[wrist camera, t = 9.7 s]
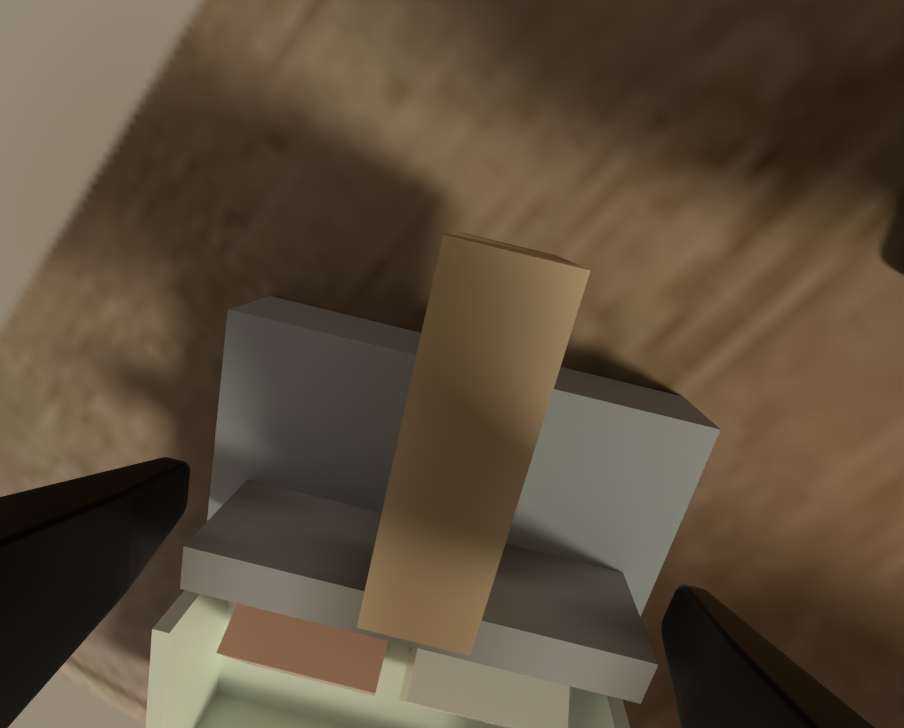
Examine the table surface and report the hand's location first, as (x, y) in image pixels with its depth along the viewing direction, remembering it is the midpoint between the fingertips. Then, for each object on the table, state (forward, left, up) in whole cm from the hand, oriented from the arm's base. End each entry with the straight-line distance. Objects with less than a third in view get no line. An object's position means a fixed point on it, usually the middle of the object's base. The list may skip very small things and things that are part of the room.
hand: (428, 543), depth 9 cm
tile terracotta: (+3, +8, -5) cm, 10 cm away
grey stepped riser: (0, +2, -7) cm, 7 cm away
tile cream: (-3, +8, -5) cm, 10 cm away
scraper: (0, -1, -5) cm, 5 cm away
